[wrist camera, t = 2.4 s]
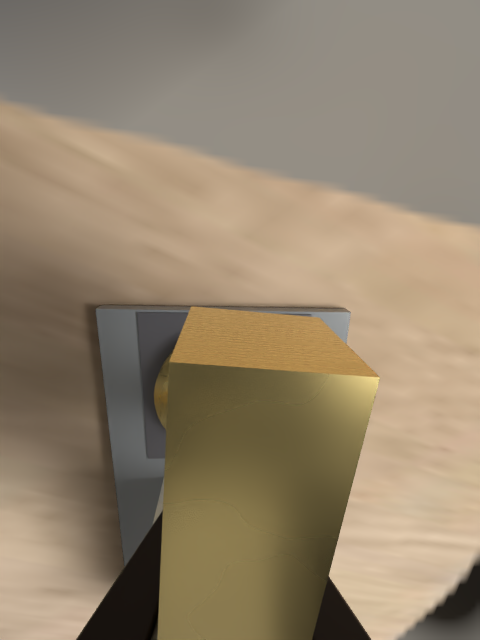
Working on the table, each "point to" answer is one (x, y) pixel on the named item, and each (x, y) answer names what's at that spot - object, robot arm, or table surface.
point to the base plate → (151, 399)
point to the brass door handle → (255, 471)
